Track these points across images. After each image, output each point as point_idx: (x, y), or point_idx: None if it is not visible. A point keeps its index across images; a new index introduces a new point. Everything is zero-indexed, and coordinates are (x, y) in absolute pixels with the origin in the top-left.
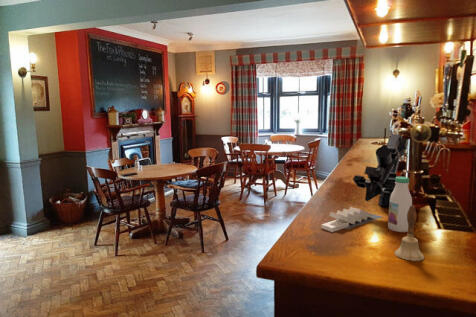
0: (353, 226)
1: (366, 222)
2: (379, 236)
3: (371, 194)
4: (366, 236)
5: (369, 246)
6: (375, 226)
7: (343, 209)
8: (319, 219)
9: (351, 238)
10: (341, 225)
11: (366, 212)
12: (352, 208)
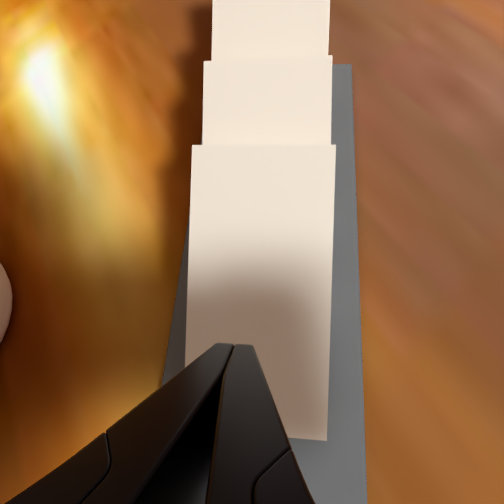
0: None
1: (184, 259)
2: (30, 122)
3: (122, 429)
4: (89, 76)
5: (37, 5)
6: (105, 254)
7: (331, 62)
8: (481, 88)
9: (139, 12)
10: None
11: (189, 271)
12: (296, 149)
